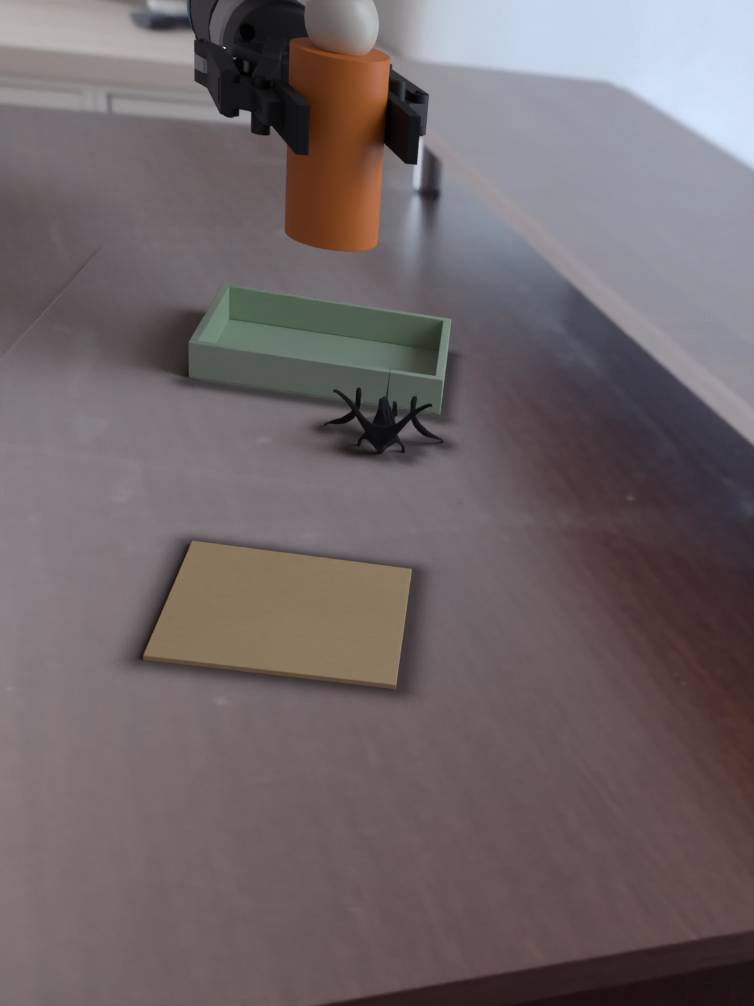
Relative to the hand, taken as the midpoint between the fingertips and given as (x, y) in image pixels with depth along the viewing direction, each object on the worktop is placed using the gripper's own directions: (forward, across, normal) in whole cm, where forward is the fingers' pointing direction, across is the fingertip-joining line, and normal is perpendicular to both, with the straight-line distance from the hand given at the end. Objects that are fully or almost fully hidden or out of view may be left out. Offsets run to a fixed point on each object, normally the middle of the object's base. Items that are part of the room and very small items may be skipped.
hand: (358, 135), depth 79 cm
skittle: (-5, 0, -7) cm, 9 cm away
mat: (+25, +9, -18) cm, 32 cm away
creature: (+4, -2, -18) cm, 19 cm away
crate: (-9, -1, -18) cm, 20 cm away
